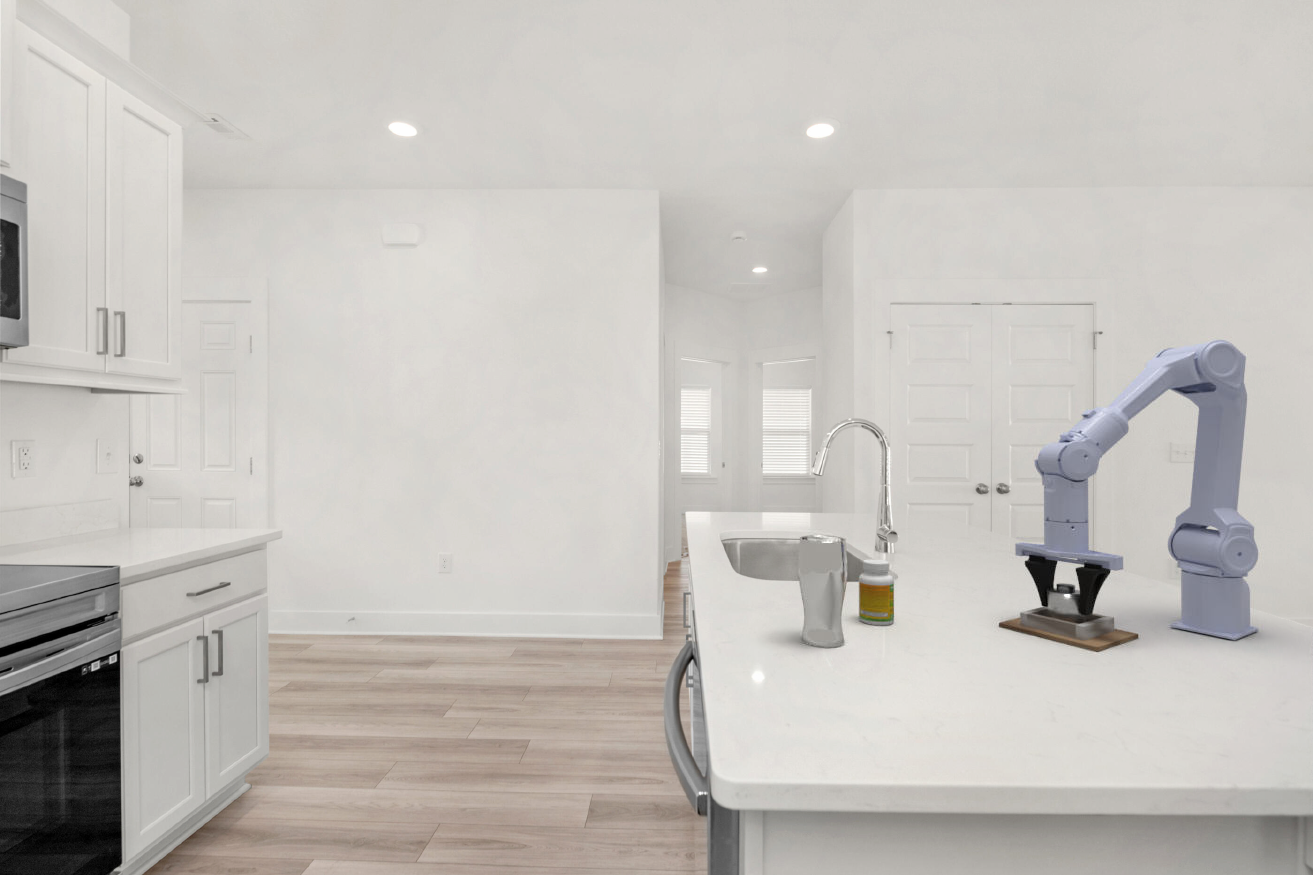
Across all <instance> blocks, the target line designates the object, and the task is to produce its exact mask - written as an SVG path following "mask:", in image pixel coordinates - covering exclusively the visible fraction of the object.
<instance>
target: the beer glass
mask: <svg viewBox="0 0 1313 875" xmlns="http://www.w3.org/2000/svg"><path fill="white" fill-rule="evenodd" d="M797 559H798V560H797V564H798V565H797V566H798V568H797V571H798V581H799V589H800V593H801V594H800V595H801V599H802V600H801V601H802V606H803V626H802V631H801V637H800V638H801V642H803V643H804V642H805V643H804V644H806V643H808V644H811V645H815V646H820V647H819V648H823V647H833V648H838V646H839V647H841V645H842V646H843V645H844V644H845V637H844V633H843V632H844V631H843V625H842V617H843V616H842V614H843V607H844V606H843V605H844V600H845V596H846V595H845V594H846V590H847V589H846V588H847V582H848V555H847V542H846V538H845V537H844V538H843V537H841V536H834V535H824V534H823V535H821V534H818V535H816V534H815V535H811V534H810V535H803V536H800V537H799V544H798V557H797ZM808 644H807V645H808ZM811 645H810V646H811ZM815 646H814V647H815Z"/></svg>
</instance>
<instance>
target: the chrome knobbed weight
mask: <svg viewBox="0 0 1313 875" xmlns="http://www.w3.org/2000/svg"><path fill="white" fill-rule="evenodd" d="M1047 607H1048V617H1050V618H1055V619H1059V620H1063V621H1068V622H1072V623H1077V624H1081V623H1085V622H1087V615H1081V613H1080V589H1076V585H1075V584H1072V583H1061V582H1059V583H1056V588H1052V589H1047Z"/></svg>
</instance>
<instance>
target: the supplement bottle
mask: <svg viewBox="0 0 1313 875" xmlns="http://www.w3.org/2000/svg"><path fill="white" fill-rule="evenodd" d="M862 568H863V571H864V572H861V574H860V575H859V577H858V619H859V621H860V622H862V623H864V624H868V625H871V626H890V625H893V624H894V622H895V589H894V588H895V581H894V580H895V579H894V578H893V576H892V575H890V574H889V573H888V572H889V571H890V562H889V561H887V560H883V559H875V558H874V559H873V558H871V559H869V558H868V559H864V560H863V561H862Z"/></svg>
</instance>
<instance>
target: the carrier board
mask: <svg viewBox="0 0 1313 875" xmlns="http://www.w3.org/2000/svg"><path fill="white" fill-rule="evenodd" d="M1019 615H1020V616H1019V617H1017V618H1013V619H1008V620H1005V621H1001V622H998V627H999V628H1003V629H1006V630H1011V631H1013V632H1014V631H1015V632H1018V633H1021V634H1026V635H1029V636H1033V635H1034V637H1038V638H1040V639H1041V638H1042V639H1045V640H1050V641H1053V642H1057V643H1061V642H1063V643H1062V644H1065V643H1066V644H1065V645H1070V646H1074V647H1077V648H1080V649H1083V650H1084V649H1085V650H1089V651H1092V652H1101V651H1103V650H1107V649H1109V648H1110V649H1111V648H1113V647H1115V646H1118V645H1122V644H1125V643H1127V642H1130V641H1134V640H1136V639H1139V633H1136V632H1131V631H1126V630H1123V629H1122V630H1121V629H1118V628H1115V618H1114V617H1113V616H1112V617H1111V616H1106V615H1102V614H1097V613H1094V612H1093V614H1090V615H1087V622H1085V623H1081V624H1077V623H1072V622H1068V621H1063V620H1059V619H1055V618H1050V617H1048V607H1044V606H1040V607H1038V608H1037V607H1036V608H1033V609H1032V608H1031V609H1029V610H1026V611H1025V610H1024V611H1021V612H1019Z"/></svg>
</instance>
